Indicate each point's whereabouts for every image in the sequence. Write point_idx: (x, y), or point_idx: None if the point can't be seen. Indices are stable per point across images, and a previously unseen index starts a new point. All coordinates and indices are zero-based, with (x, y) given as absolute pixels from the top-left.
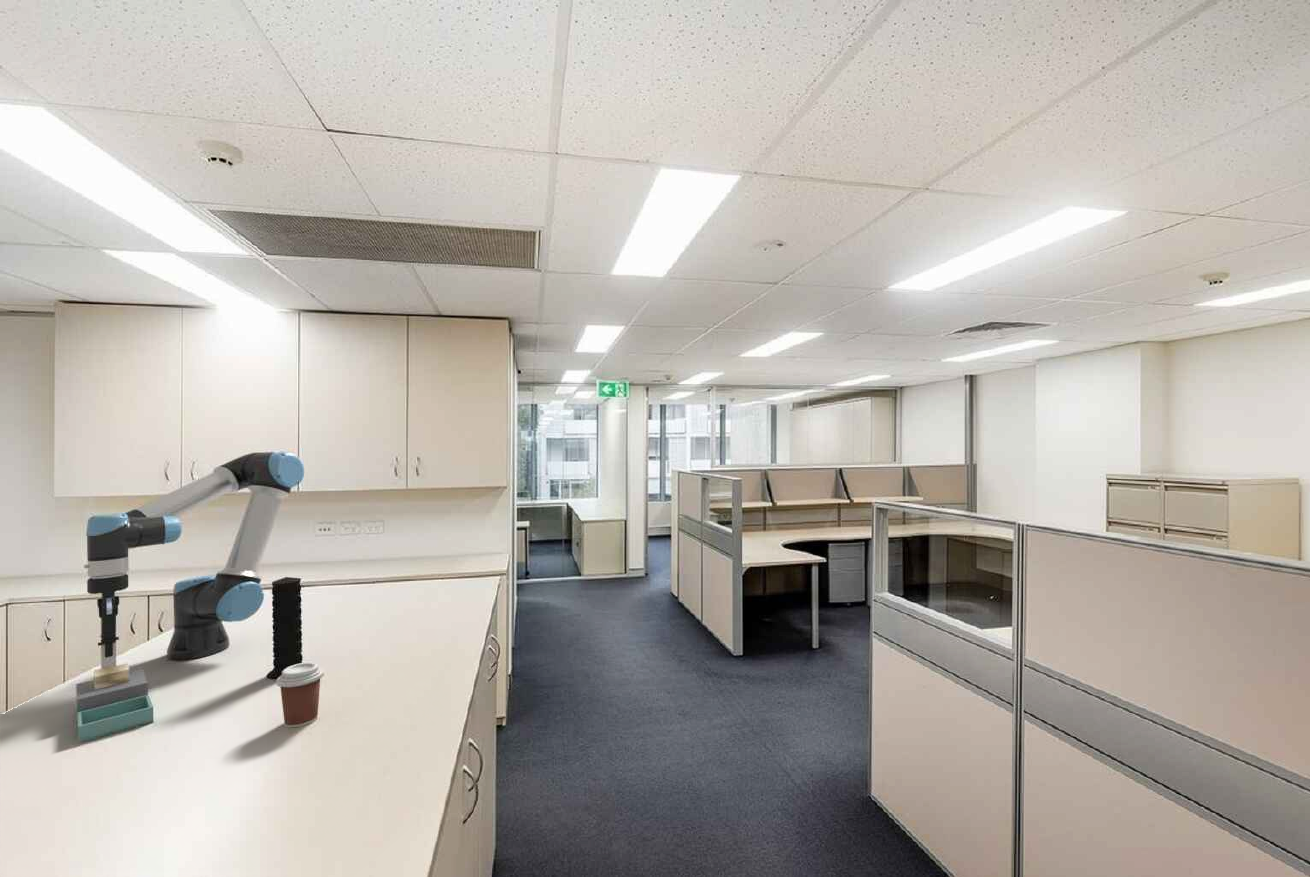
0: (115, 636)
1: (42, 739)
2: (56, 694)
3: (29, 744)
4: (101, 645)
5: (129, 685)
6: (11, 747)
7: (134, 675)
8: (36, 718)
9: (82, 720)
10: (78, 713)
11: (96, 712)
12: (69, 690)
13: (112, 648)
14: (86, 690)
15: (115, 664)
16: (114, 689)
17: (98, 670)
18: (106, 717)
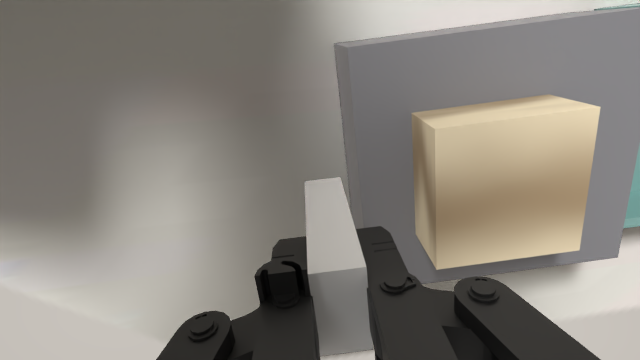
0: (540, 317)
1: (575, 269)
2: (122, 308)
3: (585, 289)
4: (371, 343)
5: (622, 88)
6: (565, 318)
7: (451, 79)
8: None
9: None
10: (624, 226)
11: None
12: (97, 282)
13: (399, 259)
14: None
15: (342, 187)
16: (619, 145)
17: (457, 250)
18: None
